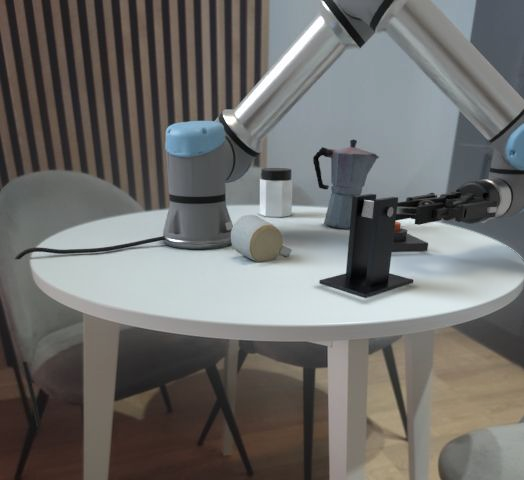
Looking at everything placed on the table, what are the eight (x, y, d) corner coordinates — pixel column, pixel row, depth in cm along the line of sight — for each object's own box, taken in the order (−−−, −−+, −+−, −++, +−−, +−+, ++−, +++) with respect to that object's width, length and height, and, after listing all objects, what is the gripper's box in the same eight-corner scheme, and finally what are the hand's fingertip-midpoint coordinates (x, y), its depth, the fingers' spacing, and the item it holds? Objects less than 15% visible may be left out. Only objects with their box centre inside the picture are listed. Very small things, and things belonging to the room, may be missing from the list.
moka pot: (375, 230, 120) (384, 140, 111) (311, 229, 120) (316, 139, 112) (368, 223, 128) (376, 139, 120) (308, 222, 129) (312, 138, 120)
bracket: (367, 274, 85) (376, 190, 79) (412, 286, 79) (425, 196, 73) (319, 287, 78) (324, 196, 72) (363, 302, 72) (374, 204, 66)
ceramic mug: (250, 266, 88) (251, 223, 85) (229, 256, 95) (229, 215, 92) (299, 260, 93) (302, 219, 90) (277, 251, 100) (278, 212, 96)
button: (385, 233, 99) (386, 224, 98) (378, 230, 102) (379, 221, 101) (402, 233, 99) (403, 224, 99) (395, 229, 103) (396, 221, 102)
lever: (420, 220, 85) (424, 199, 84) (438, 224, 83) (443, 201, 82) (356, 219, 74) (360, 194, 73) (375, 223, 72) (380, 197, 71)
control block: (369, 256, 97) (371, 235, 95) (352, 244, 106) (354, 225, 104) (426, 254, 99) (429, 233, 97) (405, 242, 108) (407, 224, 106)
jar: (273, 211, 144) (274, 167, 139) (296, 214, 139) (298, 169, 134) (253, 215, 137) (254, 169, 132) (277, 218, 133) (278, 171, 128)
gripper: (520, 228, 89) (449, 246, 75) (437, 215, 100) (362, 229, 86) (530, 184, 85) (458, 195, 72) (443, 176, 97) (366, 183, 83)
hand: (406, 213), depth 79 cm, fingers closed on lever, 4 cm apart
